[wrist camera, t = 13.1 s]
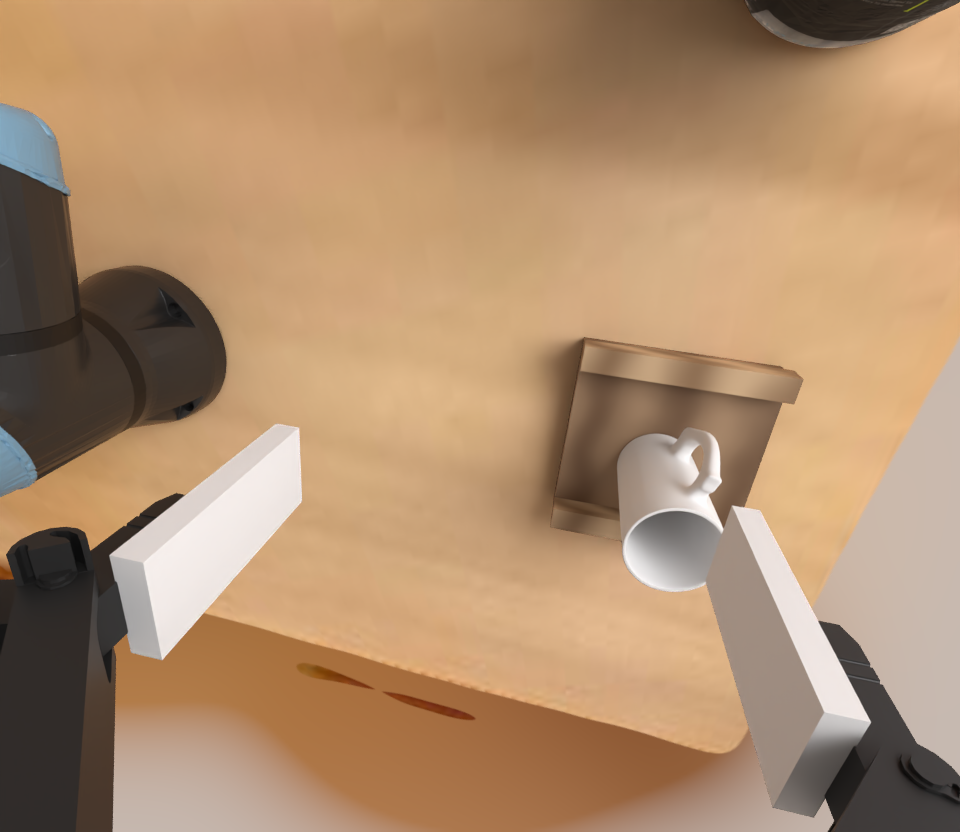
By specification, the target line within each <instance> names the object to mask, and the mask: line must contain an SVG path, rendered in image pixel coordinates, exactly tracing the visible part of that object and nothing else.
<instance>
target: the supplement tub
mask: <svg viewBox="0 0 960 832" xmlns="http://www.w3.org/2000/svg"><path fill="white" fill-rule="evenodd" d="M744 1H745V3H746V5H747V7H748V9H749V11H750V13H751V15H752V16H753V17H754V18H755V19H756V20H757V21H758V22H759V23H760V24H761V25H762V26H763V27H765V28H766V29H767V30H768V31H770V32H771V33H773V34H775V35H776V36H778V37H780V38H782V39H784V40H786V41H789V42H792V43H795V44H798V45H802V46H807V47H814V48H841V47H847V46H853V45H859V44H864V43H867V42H871V41H875V40H878V39H881V38H884V37H887V36H890V35H892V34H895V33H897V32H899V31H902V30H904V29H906V28H908V27H910V26H912V25H914V24H916V23H918V22H920V21H922V20H924V19H926V18H928V17H930V16H932V15H934V14H936V13H938V12H940V11H942V10H945V9H947V8H949V7H951V6H953V5H955V4H957V3H959V2H960V0H744Z"/></svg>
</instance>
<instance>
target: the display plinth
mask: <svg viewBox="0 0 960 832" xmlns="http://www.w3.org/2000/svg"><path fill="white" fill-rule="evenodd" d="M803 380H804V379H803V378H801V377H800V376H799V375H798V374H797V373H796V372H795V371H792V370H786V369H783V368H782V367H780V366H773V365H767V364H760V363H753V362H746V361H740V360H733V359H726V358H719V357H713V356H706V355H699V354H693V353H686V352H679V351H672V350H666V349H659V348H652V347H646V346H639V345H632V344H625V343H619V342H612V341H605V340H599V339H592V338H585V337H584V341H583V346H582V351H581V356H580V362H579V367H578V372H577V378H576V383H575V388H574V393H573V399H572V404H571V409H570V414H569V420H568V425H567V430H566V436H565V441H564V446H563V451H562V457H561V462H560V467H559V472H558V478H557V483H556V488H555V494H554V501H553V511H552V517H551V526H550V527H551V528H556V529H561V530H566V531H572V532H577V533H582V534H587V535H592V536H598V537H603V538H608V539H613V540H619V541H622V540H621V528H620V511H619V494H618V476H617V462H618V458H619V455H620V453H621V451H622V450H623V449H624V447H625V446H626V445H627V444H628V443H629V442H631V441H632V440H634V439H636V438H638V437H640V436H643V435H647V434H664V435H668V436H671V437H673V438H675V439H677V440H678V438H679V437H680V435H681V433H682V432H683V430H684V429H686V428H694V429H698V430H702V431H706V432H708V433H710V434H711V435H713V436H714V437H715V439H716V441H717V443H718V446H719V451H720V477H721V480H722V482H721V484H720V485H719V486H718V487H717V489H716V490H715V491H714V492H713V493H710V494H709V497H710V499H711V502H712V504H713V506H714V508H715V511H716V513H717V515H718V518H719V520H720V522H721V525H722V527H723V529H724V527H725V524H726V521H727V518H728V515H729V512H730V510H731V507H732V505H733V506H738V507H744V506H745V503H746V501H747V498H748V495H749V493H750V490H751V487H752V484H753V482H754V479H755V476H756V473H757V471H758V468H759V465H760V462H761V460H762V457H763V454H764V452H765V449H766V446H767V443H768V441H769V438H770V435H771V432H772V430H773V427H774V424H775V422H776V419H777V416H778V413H779V411H780V408H781V405H782V402H783V403H789V404H794V403H795V401H796V398H797V395H798V393H799V390H800V387H801V385H802V382H803ZM691 456H692V458H693V460H694V462H695V465H696V467H697V469H698V472H699V473H700V470H701V467H702V464H703V458H704V451H703V448H702V446H701V445H699V446H697V447H696V448H695V449H694V451H693V452H692V454H691Z"/></svg>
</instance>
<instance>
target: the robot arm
mask: <svg viewBox="0 0 960 832" xmlns="http://www.w3.org/2000/svg"><path fill="white" fill-rule="evenodd" d="M67 196H70V190H69V188H68V187H67V186H66V185H65V181H64V175H63V170H62V164H61V158H60V152H59V147H58V142H57V139H56V137H55V135H54V133H53V132H52V130H51V129H50V128H49V126H48V125H47V124H46V123H45V122H44V121H43V120H41V119H40V118H39V117H37V116H36V115H34V114H33V113H31V112H29V111H27V110H24V109H21V108H18V107H14V106H10V105H7V104H3V103H0V497H2V496H4V495H6V494H8V493H11V492H13V491H15V490H17V489H23V488H26V487H29V486H30V485H31V484H32V483H34V482H35V481H36V480H38V479H40V478H42V477H43V476H45V475H47V474H49V473H51V472H52V471H54V470H56V469H58V468H59V467H61V466H63V465H65V464H66V463H68V462H70V461H72V460H73V459H75V458H77V457H79V456H81V455H82V454H84V453H86V452H88V451H89V450H91V449H93V448H95V447H96V446H98V445H100V444H102V443H103V442H105V441H107V440H109V439H111V438H112V437H114V436H116V435H118V434H119V433H121V432H123V431H125V430H127V429H129V428H133V427H140V426H147V425H154V424H161V423H168V422H174V421H178V420H181V419H184V418H187V417H189V416H191V415H192V414H194V413H196V412H197V411H199V410H201V409H202V408H204V407H206V406H207V405H208V404H210V403H211V402H212V401H213V400H214V399H215V397H216V396H217V395H218V393H219V391H220V389H221V387H222V385H223V382H224V378H225V373H226V353H225V347H224V343H223V339H222V336H221V333H220V331H219V328H218V326H217V324H216V322H215V320H214V318H213V317H212V315H211V313H210V312H209V310H208V309H207V308H206V306H205V305H204V304H203V302H202V301H201V300H200V299H199V298H198V297H197V296H196V295H195V294H194V293H193V292H192V291H191V290H190V289H189V288H188V287H187V286H185V285H184V284H183V283H181V282H180V281H178V280H177V279H175V278H174V277H172V276H170V275H168V274H166V273H164V272H161V271H159V270H156V269H153V268H149V267H144V266H126V267H120V268H115V269H110V270H105V271H102V272H99V273H97V274H94V275H92V276H90V277H89V278H87V279H86V280H85V281H83V282H82V283H81V284H79V285H78V278H77V270H76V262H75V254H74V246H73V238H72V230H71V221H70V213H69V205H68V197H67ZM301 502H302V489H301V464H300V439H299V427H293V426H287V425H282V424H275V425H274V426H272V427H271V428H270V429H269V430H267V431H266V432H265V433H264V434H262V435H261V436H260V437H258V438H257V439H256V440H255V441H253V442H252V443H251V444H250V445H248V446H247V447H246V448H245V449H243V450H242V451H241V452H239V453H238V454H237V455H236V456H234V457H233V458H232V459H231V460H229V461H228V462H227V463H226V464H224V465H223V466H222V467H220V468H219V469H218V470H217V471H215V472H214V473H213V474H212V475H210V476H209V477H208V478H207V479H205V480H204V481H203V482H201V483H200V484H199V485H198V486H196V487H195V488H194V489H193V490H191V491H190V492H189V493H188V494H186V495H182V494H177V493H176V494H173V495H171V496H169V497H166V498H164V499H162V500H159V501H157V502H155V503H154V504H152V505H151V506H150V507H148V508H147V509H146V510H144V511H143V512H142V513H140V516H139V517H138V516H136V517H135V518H134V519H132V520H131V521H130V522H128V523H127V526H123V527H122V528H120V529H119V530H118V531H116V532H115V533H114V534H112V535H111V536H110V537H108V538H107V539H106V540H104V541H103V542H102V543H100V544H99V545H98V546H97V547H95V548H94V549H93V550H91V551H90V549H89V545H88V540H87V537H86V534H85V532H83V531H81V530H79V529H78V528H70V527H60V528H51V529H47V530H43V531H39V532H36V533H34V534H32V535H29V536H27V537H25V538H23V539H21V540H20V541H18V542H17V543H16V544H14V545H13V546H12V547H11V548H10V550H9V551H8V553H7V554H6V556H7V559H8V562H9V565H10V568H11V571H12V574H13V577H14V579H12V580H0V832H112V829H113V779H114V778H113V777H114V730H115V728H114V727H115V681H116V680H115V679H116V655H115V651H114V646H115V645H116V644H117V643H118V642H119V641H120V640H121V639H122V638H123V637H124V636H125V635H126V634H127V636H128V640H129V645H130V649H131V652H132V653H135V654H140V655H143V656H147V657H152V658H156V659H160V660H163V658H164V657H165V656H166V655H167V654H168V653H169V652H170V650H171V649H172V648H173V647H174V646H175V645H176V644H177V643H178V641H179V640H180V639H181V638H182V637H183V636H184V635H185V633H186V632H187V631H188V630H189V629H190V628H191V627H192V626H193V624H194V623H195V622H196V621H197V620H198V619H199V618H200V616H201V615H202V614H203V613H204V612H205V611H206V610H207V609H208V607H209V606H210V605H211V604H212V603H213V602H214V601H215V599H216V598H217V597H218V596H219V595H220V594H221V593H222V592H223V590H224V589H225V588H226V587H227V586H228V585H229V584H230V582H231V581H232V580H233V579H234V578H235V577H236V576H237V574H238V573H239V572H240V571H241V570H242V569H243V568H244V567H245V565H246V564H247V563H248V562H249V561H250V560H251V559H252V557H253V556H254V555H255V554H256V553H257V552H258V551H259V550H260V548H261V547H262V546H263V545H264V544H265V543H266V542H267V540H268V539H269V538H270V537H271V536H272V535H273V534H274V533H275V531H276V530H277V529H278V528H279V527H280V526H281V525H282V523H283V522H284V521H285V520H286V519H287V518H288V517H289V515H290V514H291V513H292V512H293V511H294V510H295V509H296V508H297V506H298V505H299V504H300V503H301ZM705 581H706V585H707V588H708V591H709V595H710V598H711V602H712V605H713V608H714V612H715V615H716V618H717V622H718V625H719V629H720V632H721V635H722V639H723V642H724V645H725V649H726V652H727V656H728V659H729V662H730V666H731V669H732V672H733V676H734V679H735V682H736V686H737V689H738V693H739V696H740V699H741V703H742V706H743V709H744V713H745V716H746V720H747V723H748V726H749V730H750V733H751V736H752V740H753V743H754V747H755V750H756V753H757V756H758V760H759V763H760V767H761V770H762V773H763V777H764V780H765V784H766V787H767V790H768V794H769V797H770V800H771V804H772V807H773V808H776V809H781V810H785V811H789V812H793V813H797V814H801V815H805V816H810V817H814V816H815V815H816V813H817V811H818V810H819V808H820V806H821V805H822V803H823V801H824V800H825V798H826V801H827V803H828V806H829V808H830V811H831V814H832V816H833V819H834V822H833V824H832V826H831V827H830V829H829V830H828V832H960V776H959V775H958V774H957V773H956V772H955V770H954V769H953V768H952V767H951V766H950V765H949V764H947V763H946V762H945V761H944V760H942V759H941V758H940V757H939V756H937V755H936V754H935V753H933V752H931V751H929V750H928V749H926V748H924V747H922V746H920V745H918V744H917V743H916V741H915V739H914V738H913V736H912V734H911V733H910V731H909V729H908V728H907V726H906V724H905V722H904V721H903V719H902V717H901V715H900V714H899V712H898V710H897V709H896V707H895V705H894V704H893V702H892V700H891V698H890V697H889V695H888V693H887V692H886V690H885V688H884V687H883V685H881V684H880V680H879V678H878V676H877V675H876V673H875V671H874V669H873V668H870V663H869V661H868V659H867V658H866V656H865V654H864V652H863V651H862V649H861V647H860V646H859V644H858V643H857V642H856V641H855V640H854V639H853V638H852V637H851V636H850V635H849V634H848V633H847V632H846V631H845V630H844V629H843V628H842V627H841V626H840V625H836V624H832V623H827V622H822V621H818V620H817V618H816V616H815V614H814V613H813V611H812V609H811V607H810V605H809V603H808V601H807V599H806V597H805V595H804V593H803V592H802V590H801V588H800V586H799V584H798V582H797V580H796V578H795V576H794V574H793V572H792V571H791V569H790V567H789V565H788V563H787V561H786V559H785V557H784V555H783V553H782V551H781V550H780V548H779V546H778V544H777V542H776V540H775V538H774V536H773V534H772V532H771V530H770V529H769V527H768V525H767V523H766V521H765V519H764V517H763V515H762V513H761V511H760V510H755V509H749V508H744V507H738V506H733V505H732V507H731V510H730V512H729V515H728V518H727V521H726V524H725V527H724V529H723V532H722V535H721V538H720V541H719V543H718V546H717V549H716V552H715V555H714V558H713V560H712V563H711V566H710V569H709V572H708V575H707V577H706V580H705Z"/></svg>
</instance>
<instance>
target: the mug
mask: <svg viewBox="0 0 960 832" xmlns="http://www.w3.org/2000/svg"><path fill="white" fill-rule="evenodd" d="M699 445H701V446H702V448H703V451H704V458H703V464H702V467H701V470H700V473H699V472H698V469H697V467H696V465H695V462H694V460H693V458H692V456H691V454H692V452H693V451H694V449H695V448H696V447H697V446H699ZM617 476H618V494H619V511H620V528H621V540H622V555H623V559H624V562H625V565H626V567H627V568H628V570H629V571H630V573H631V574H632V575H633V576H634V577H635V578H636V579H637V580H638V581H640V582H641V583H643V584H644V585H646V586H648V587H651V588H653V589H657V590H661V591H667V592H682V591H689V590H693V589H696V588H699V587H701V586H703V585H705V584H706V581H705V580H706V577H707V575H708V572H709V569H710V566H711V563H712V560H713V558H714V555H715V552H716V549H717V546H718V543H719V541H720V538H721V535H722V532H723V527H722V525H721V522H720V520H719V518H718V515H717V513H716V511H715V508H714V506H713V504H712V502H711V499H710V497H709V494H710V493H713V492H714V491H715V490H716V489H717V487H718V486H719V485H720V484H721V482H722V480H721V477H720V451H719V446H718V443H717V441H716V439H715V437H714V436H713V435H711V434H710V433H708V432H706V431H702V430H698V429H694V428H686V429H684V430H683V432H682V433H681V435H680V437H679V438H678V440H677V439H675V438H673V437H671V436H668V435H664V434H647V435H643V436H640V437H638V438H636V439H634V440H632V441H631V442H629V443H628V444H627V445H626V446H625V447H624V449H623V450H622V451H621V453H620V455H619V458H618V462H617Z"/></svg>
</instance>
